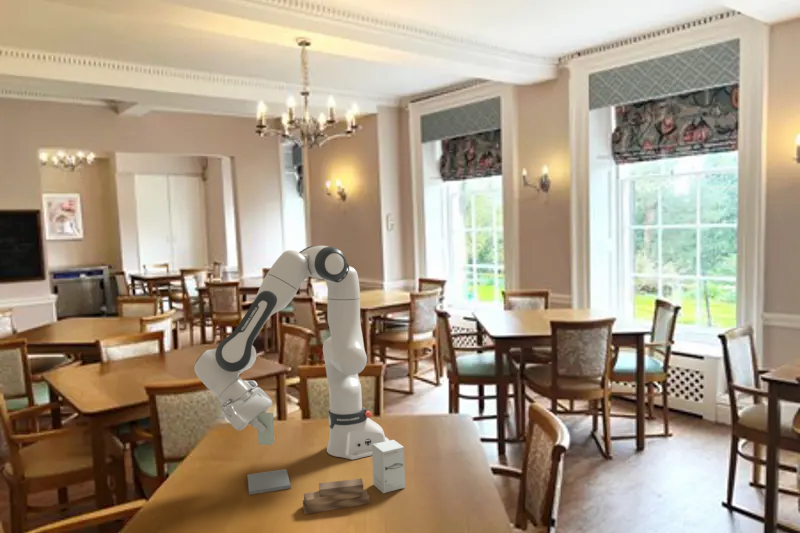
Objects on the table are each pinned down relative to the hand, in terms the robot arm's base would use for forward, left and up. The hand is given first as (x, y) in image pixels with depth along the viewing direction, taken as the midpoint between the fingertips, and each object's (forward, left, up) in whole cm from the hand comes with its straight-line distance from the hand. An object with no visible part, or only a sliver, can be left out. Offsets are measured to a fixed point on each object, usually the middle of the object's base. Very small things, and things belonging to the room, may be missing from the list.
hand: (267, 427), depth 177 cm
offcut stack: (-16, +21, -17) cm, 32 cm away
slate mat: (+1, 0, -17) cm, 17 cm away
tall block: (+1, 0, -5) cm, 5 cm away
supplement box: (-33, +15, -17) cm, 40 cm away
